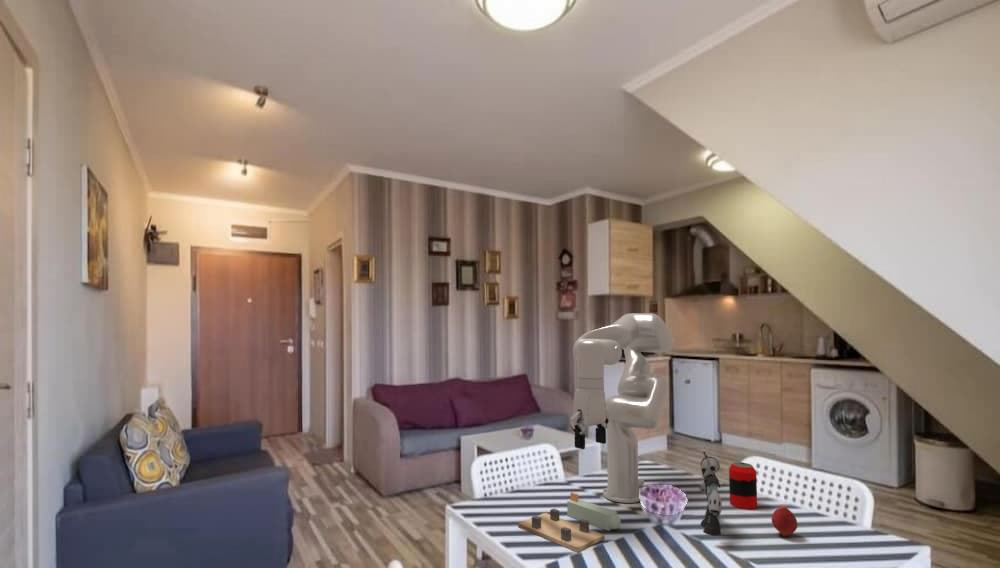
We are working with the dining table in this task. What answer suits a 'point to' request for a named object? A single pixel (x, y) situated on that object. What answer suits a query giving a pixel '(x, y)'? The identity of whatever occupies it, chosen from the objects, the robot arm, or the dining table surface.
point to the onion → (784, 521)
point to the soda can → (743, 485)
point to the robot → (711, 495)
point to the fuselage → (592, 513)
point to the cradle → (562, 530)
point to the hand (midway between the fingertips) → (590, 445)
